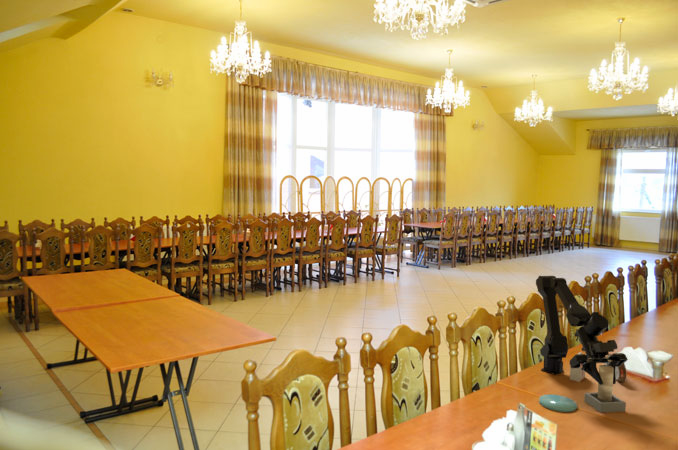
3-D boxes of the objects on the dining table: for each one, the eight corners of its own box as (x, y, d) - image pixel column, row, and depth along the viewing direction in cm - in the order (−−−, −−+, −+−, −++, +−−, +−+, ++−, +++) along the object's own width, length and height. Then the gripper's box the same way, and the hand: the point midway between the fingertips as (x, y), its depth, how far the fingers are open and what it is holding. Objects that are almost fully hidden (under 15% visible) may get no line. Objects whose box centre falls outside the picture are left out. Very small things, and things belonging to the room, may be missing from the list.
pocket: (584, 401, 177) (584, 392, 177) (608, 400, 178) (608, 391, 178) (600, 412, 168) (600, 403, 168) (625, 411, 169) (625, 402, 169)
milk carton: (569, 379, 197) (570, 354, 197) (575, 374, 202) (576, 350, 202) (579, 382, 195) (580, 356, 194) (585, 377, 200) (586, 352, 199)
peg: (594, 400, 174) (596, 366, 173) (601, 397, 176) (603, 363, 175) (607, 404, 170) (609, 370, 169) (614, 401, 173) (616, 367, 172)
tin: (626, 384, 193) (627, 363, 192) (617, 384, 193) (618, 362, 193) (613, 370, 207) (614, 350, 207) (605, 370, 208) (606, 350, 207)
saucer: (532, 402, 176) (532, 399, 176) (551, 394, 183) (551, 391, 183) (564, 415, 166) (564, 412, 166) (583, 406, 173) (583, 403, 173)
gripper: (575, 332, 174) (593, 375, 164) (625, 330, 176) (646, 373, 166) (562, 346, 183) (578, 388, 172) (609, 345, 185) (628, 386, 175)
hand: (608, 384), depth 171 cm, fingers closed on peg, 4 cm apart
